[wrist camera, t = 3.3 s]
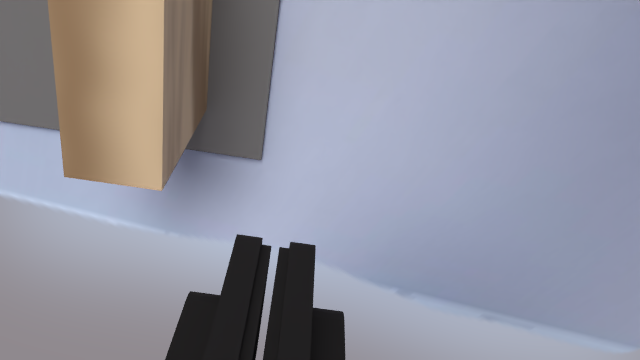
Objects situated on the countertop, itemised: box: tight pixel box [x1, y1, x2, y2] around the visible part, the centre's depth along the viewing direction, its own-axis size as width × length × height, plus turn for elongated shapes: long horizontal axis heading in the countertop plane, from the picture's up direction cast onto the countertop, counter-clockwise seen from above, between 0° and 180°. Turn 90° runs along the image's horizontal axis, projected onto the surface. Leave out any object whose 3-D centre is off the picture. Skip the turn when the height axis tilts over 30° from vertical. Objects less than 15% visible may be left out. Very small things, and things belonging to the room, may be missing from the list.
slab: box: [48, 0, 213, 191], centre depth 26 cm, size 4×12×10 cm, turn 171°
